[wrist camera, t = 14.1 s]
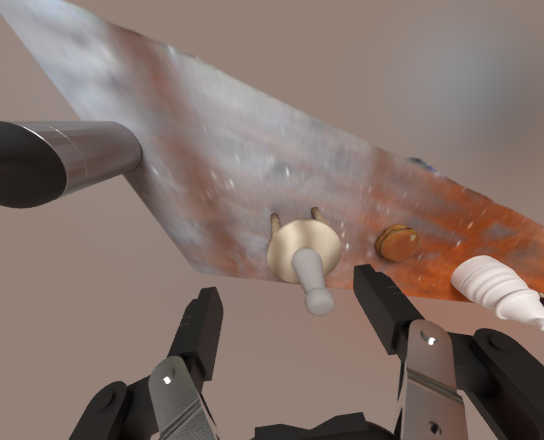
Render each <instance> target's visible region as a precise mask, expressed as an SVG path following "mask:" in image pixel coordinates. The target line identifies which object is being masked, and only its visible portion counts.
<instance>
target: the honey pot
mask: <svg viewBox="0 0 544 440" xmlns="http://www.w3.org/2000/svg"><path fill="white" fill-rule="evenodd" d="M451 283H452V285H453V286H454V287H455V288H456V289H457V290H458V291H460V292H461V293H462V294H463V295H464V296H465V297H467V298H468V299H469V300H470V301H472V302H475V303H477V304H479V305H481V306H484V307H485V308H486V309H489V310H492V311H494V313H495V315H496V316H497V317H498V318H501V319H504V320H509V319H513V320H516V321H519V322H522V323H525V324H529V325H534V326H538V327H539V328H540V329H541V330H543V331H544V307H543V305H542V304H541V302H540V301H539V300H540V296H539V294H538V293H537V292H536V291H534V290H531V289H529V288H528V287H527V284H526V283H525V282H524V281H523V280H521V278H520V277H519V276H518V275H517V274H516V273H515V272H514V270H512V269H511V268H509V267H508V266H505V265H504V264H502V263H501V262H499V261H497V260H496V259H494V258H492V257H490V256H484V255H483V256H477V257H474V258H471V259H469V260H467V261H465V262H464V263H462V264H461V265H460V266H459V267H458V268H457V269H456V270H455V271H454V273H453V274H452V277H451Z"/></svg>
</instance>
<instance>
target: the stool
mask: <svg viewBox="0 0 544 440" xmlns="http://www.w3.org/2000/svg"><path fill="white" fill-rule="evenodd" d="M311 213H312V214H313V216H314V218H315V219H310V218H304V219H297V220H294V221H291V222H288V223H286V224H285V225H283V226H281V227H280V223H279V218H278V215H277V214H276V213H273V214H271V224H272V232H273V236H272V237H271V239H270V241H269V243H268V247H267V258H268V263H269V266H270V268H271V270H272V271H273V272H274V274H275V275H277V276H278V277H279V278H281V279H283V280H285V281H287V282H291V283H300V282H299V280H298V278H297V276H296V274H295V272H294V270H293V268H292V265H291V263H292V257H293V255H294V253H295V252H296V251H297V250H298V249H299V248H301V247H306V248H311V249H313V250H315V251H316V252H317V253H318V254H319V255H320V257H321V259H322V264H323V270H324V276H326V275H327V274H329V273H330V272H331V271H332V270H333V269H334V268H335V266H336V265H337V263H338V261H339V259H340V256H341V243H340V240H339V238H338V236H337V234H336V233H335V232H334V230H333V229H332V228H331V227H330V225H329V224H328V222H327V221H326V219H325V218H324V216H323V215H322V213H321V212H320V211H319V209H318V208H317V207H313V208H312V209H311Z"/></svg>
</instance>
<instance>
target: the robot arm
mask: <svg viewBox="0 0 544 440" xmlns="http://www.w3.org/2000/svg"><path fill="white" fill-rule="evenodd" d="M140 160H141V148H140V145H139V142H138V141H137V139H136V137H135V136H134V135H133V133H131V132H130V131H129V130H128V129H127V128H126V127H124V126H123V125H120V124H118V123H115V122H112V121H0V205H1V206H6V207H10V208H32V207H36V206H39V205H43V204H45V203H48V202H50V201H53V200H56V199H58V198H61V197H63V196H66V195H69V194H71V193H74V192H76V191H79V190H81V189H84V188H86V187H89V186H91V185H94V184H96V183H99V182H102V181H104V180H107V179H109V178H112V177H115V176H117V175H120V174H123V173H125V172H128V171H130V170H133V169H134V168H136V167H137V166H138V164H139V163H140ZM353 288H354V293H355V295H356V297H357V299H358V301H359V303H360V305H361V306H362V308H363V310H364V312H365V314H366V315H367V317H368V319H369V321H370V323H371V324H372V326H373V328H374V330H375V331H376V333H377V335H378V337H379V339H380V341H381V342H382V344H383V346H384V348H385V350H386V351H387V353H388V355H394V354H397V355H398V357H399V358H400V360H401V362H400V369H399V379H398V389H397V398H396V407H395V413H394V419H393V426H392V433H391V432H390V431H388V430H387V429H385V428H383V427H381V426H379V425H377V424H374V423H371V422H368V421H366V420H365V418H364V415H363V412H359V413H352V414H346V415H339V416H335V417H333V418H331V419H329V420H328V421H326V422H324V423H323V424H320V425H319V426H317V427H315V428H313V429H310V430H308V429H302V428H298V427H294V426H289V425H284V424H277V425H270V426H263V427H256V428H255V437H254V438H252V439H250V440H468V432H467V424H466V415H465V407H464V402H463V399H462V397H461V396H459V395H458V394H457V389H459V390H463V391H464V392H465V393H466V394H467V396H468V397H469V399H470V400H471V402H472V403H473V404H474V406H475V407H476V409H477V410H478V411H479V413H480V414H481V416H482V417H483V418H484V420H485V421H486V423H487V424H488V425H489V427H490V428H491V430H492V431H493V433H494V434H495V436H496V437H497V438H498V440H544V366H543V365H542V364H541V363H540V362H539V361H538V360H537V359H536V358H534V357H533V356H532V355H531V354H530V353H529V352H528V351H527V350H526V349H525V348H523V347H522V346H521V345H520V344H519V343H518V342H516V341H515V340H514V339H512V338H511V337H509V336H508V335H506V334H504V333H502V332H499V331H496V330H493V329H487V328H482V329H478V330H477V331H476V332H475V333H474V335H473V336H470V335H464V334H457V333H451V332H446V331H445V330H444V329H443V328H442V327H440V326H439V325H437V324H435V323H433V322H431V321H427V320H425V318H424V317H423V316H422V315H421V314H420V313H419V312H418V310H417V309H416V308H415V307H414V306H413V304H412V303H411V302H410V301H409V300H408V298H407V297H406V296H405V295H404V294H403V293H402V291H401V290H400V289H399V288H398V287H397V286H396V284H395V283H394V282H393V281H392V279H391V278H390V277H388V276H387V275H385V274H384V273H382V272H375V270H374V269H373V268H372V266H371V265H370V264H365V265H358V266H355V267H354V280H353ZM222 319H223V305H222V302H221V299H220V297H219V294H218V291H217V289H216V287H210V288H202V289H201V291H200V294H199V296H198V299H193V300H192V301H191V302H190V304H189V305H188V306H187V307H186V310H185V312H184V315H183V318H182V320H181V322H180V326H179V328H178V330H177V333H176V335H175V338H174V341H173V343H172V346H171V348H170V351H169V354H168V356H167V358H166V359H164V360H163V361H162V362H160V363H159V364H158V365H157V366H156V367H155V369H154V370H153V372H152V374H151V375H149V376H148V377H145V378H143V379H141V380H139V381H137V382H135V383H133V384H131V385H129V386H127V385H126V384H125V383H124V382H122V381H116V382H113V383H111V384H109V385H107V386H105V387H104V388H103V389H101V391H99V392H98V393H97V394H96V395H95V396H94V397H93V399H92V400H91V401H90V403H89V404H88V406H87V408H86V410H85V411H84V413H83V415H82V417H81V418H80V420H79V422H78V424H77V426H76V427H75V429H74V431H73V433H72V434H71V436H70V438H69V440H150V438H151V435H153V434H155V433H157V432H160V439H159V440H224V439H223V437H222V435H221V433H220V431H219V429H218V427H217V425H216V422H215V420H214V418H213V416H212V414H211V411H210V409H209V407H208V405H207V403H206V400H205V398H204V396H203V394H202V387H203V382H204V381H211V380H212V375H213V369H214V363H215V358H216V352H217V347H218V341H219V336H220V330H221V325H222Z"/></svg>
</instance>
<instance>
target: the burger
mask: <svg viewBox="0 0 544 440" xmlns="http://www.w3.org/2000/svg"><path fill="white" fill-rule="evenodd" d="M420 244H421V243H420V239H419V236H418V235H417V234H416V232H415V231H414V230H413V229H411V228H408V227H407V226H405V225H402V224H396V225H392V226H390V227H388V228H387V229H386V230H385V231H384V233H383V234H381V235H380V236H379V237H378V239H377V241H376V243H375V247H376V250H377V251H378V252H379V253H380V254H381V255H382V256H383V257H384V258H386V259H388V260H391V261H394V262H401V261H405V260H407V259H408V258H410V257H412V256H413V255H414V254H415V253H416V252H417V251H418V250H419V248H420Z"/></svg>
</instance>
